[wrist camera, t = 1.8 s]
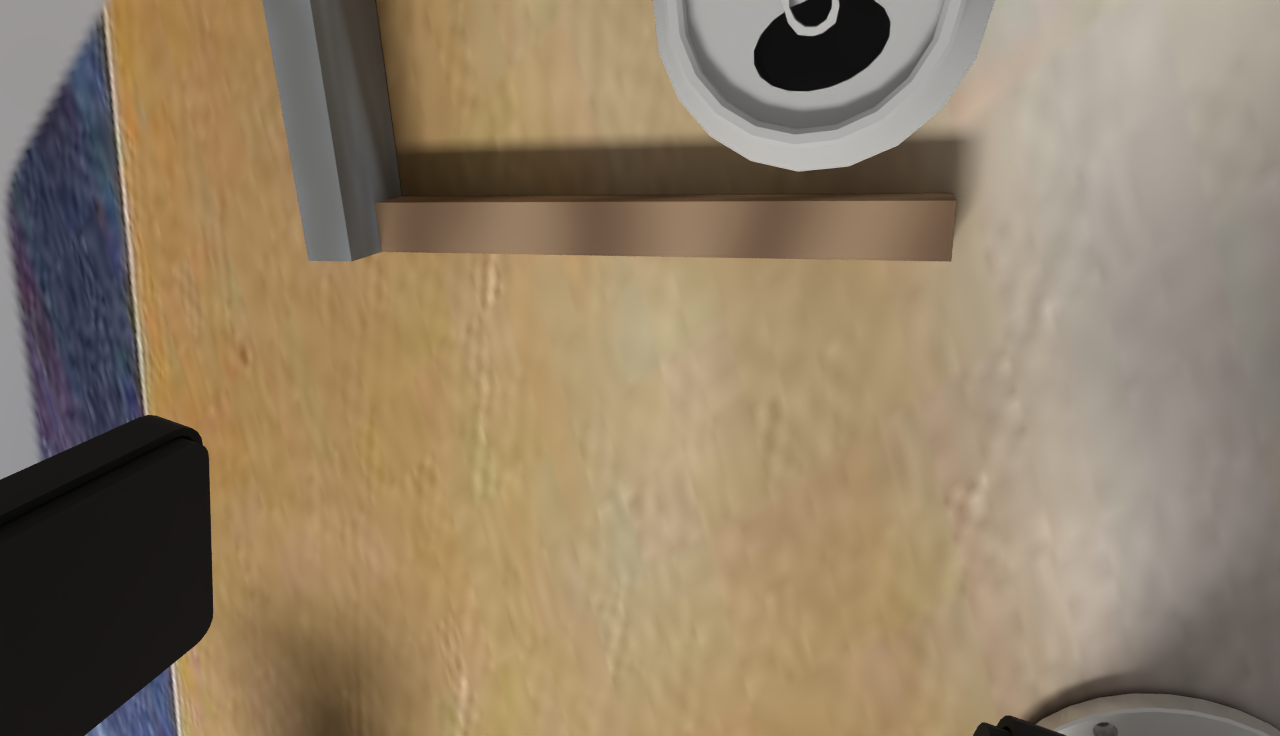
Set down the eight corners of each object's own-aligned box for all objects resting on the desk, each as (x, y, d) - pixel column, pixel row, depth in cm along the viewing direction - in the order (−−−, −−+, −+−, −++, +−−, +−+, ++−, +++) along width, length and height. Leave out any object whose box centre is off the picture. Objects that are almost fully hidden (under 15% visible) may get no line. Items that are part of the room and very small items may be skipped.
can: (759, 167, 29) (681, 215, 18) (708, -48, 27) (589, -136, 17) (976, 109, 27) (1035, 124, 16) (937, -134, 25) (973, -305, 14)
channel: (990, -255, 23) (1009, -317, 20) (947, 250, 28) (955, 274, 25) (309, -150, 30) (230, -182, 27) (368, 242, 35) (308, 260, 31)
